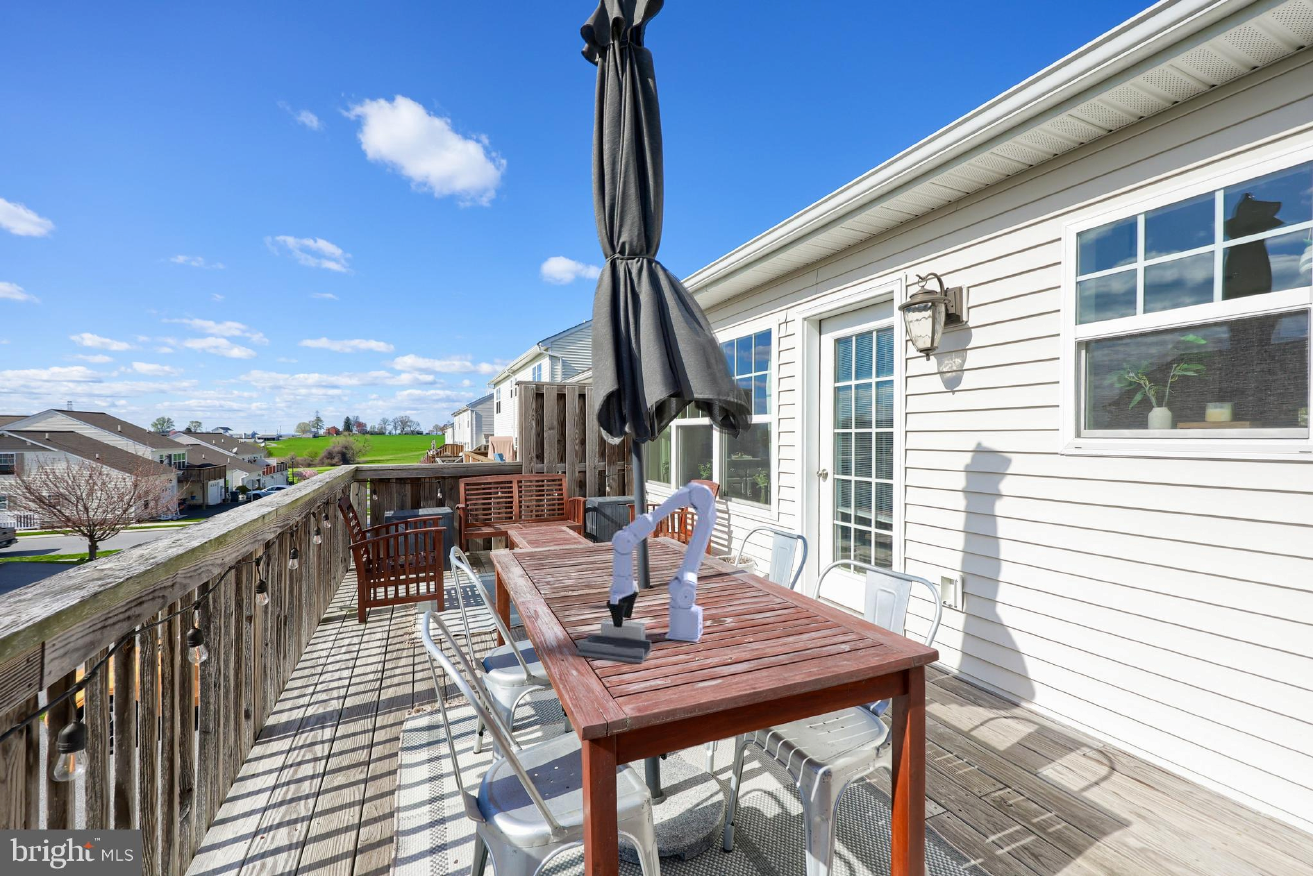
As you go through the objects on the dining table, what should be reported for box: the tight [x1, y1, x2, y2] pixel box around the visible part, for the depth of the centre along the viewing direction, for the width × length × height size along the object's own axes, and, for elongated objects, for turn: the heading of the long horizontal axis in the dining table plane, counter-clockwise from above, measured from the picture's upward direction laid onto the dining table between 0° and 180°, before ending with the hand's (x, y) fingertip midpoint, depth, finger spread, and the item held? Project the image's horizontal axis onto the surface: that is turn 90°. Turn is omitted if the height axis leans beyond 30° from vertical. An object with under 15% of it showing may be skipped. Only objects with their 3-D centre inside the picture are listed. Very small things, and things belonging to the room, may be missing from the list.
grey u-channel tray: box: [576, 632, 653, 665], centre depth 143 cm, size 18×9×3 cm, turn 73°
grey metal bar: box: [600, 618, 646, 640], centre depth 152 cm, size 12×4×5 cm, turn 73°
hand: (622, 622), depth 152 cm, fingers open, 7 cm apart
